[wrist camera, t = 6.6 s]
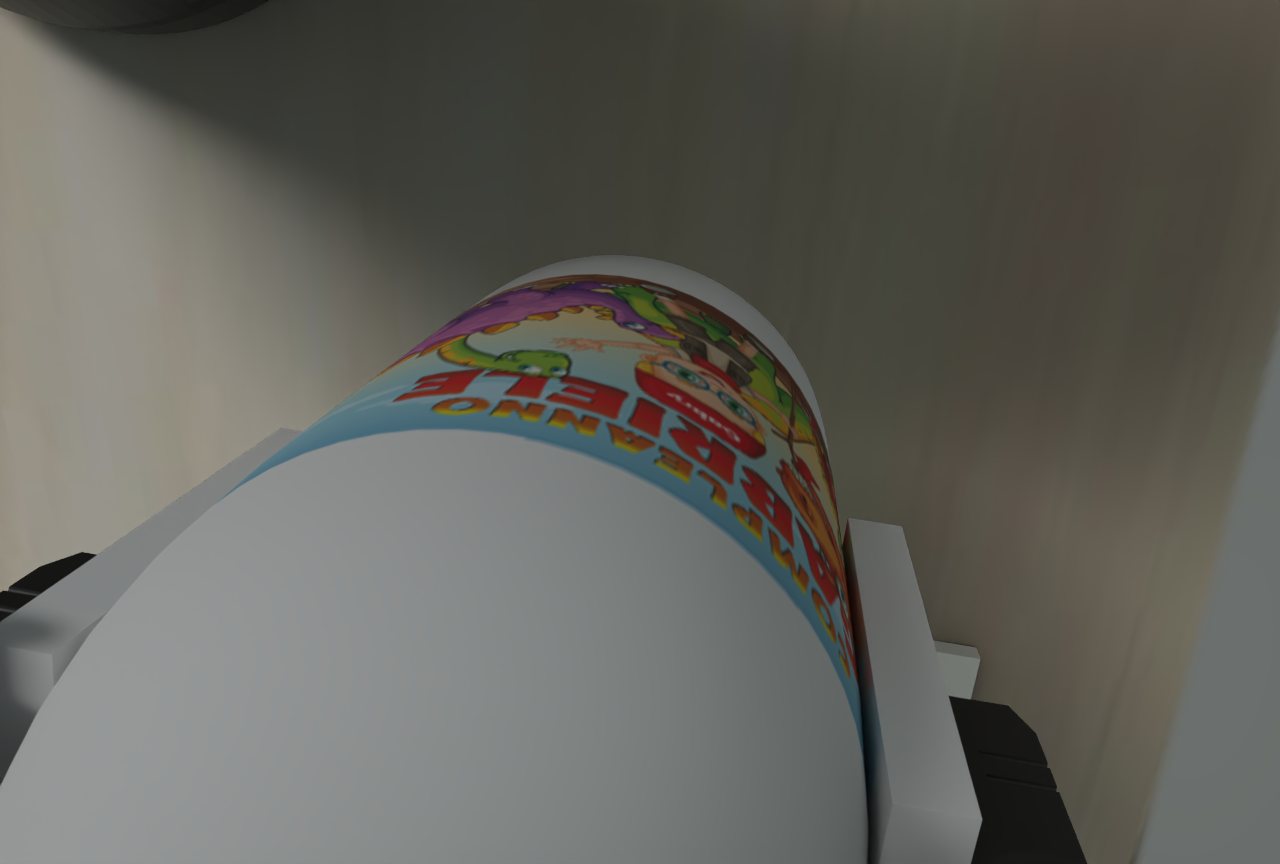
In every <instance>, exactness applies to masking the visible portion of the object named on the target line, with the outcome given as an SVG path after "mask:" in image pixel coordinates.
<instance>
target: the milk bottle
mask: <svg viewBox="0 0 1280 864" xmlns="http://www.w3.org/2000/svg"><path fill="white" fill-rule="evenodd" d="M0 864H868V813H867V795H866V778H865V760H864V742H863V725H862V714H861V704H860V693H859V685H858V676H857V667H856V659H855V650H854V641H853V633H852V624H851V616H850V607H849V598H848V590H847V581H846V572H845V565H844V557H843V550H842V543H841V535H840V528H839V520H838V513H837V506H836V498H835V491H834V484H833V477H832V470H831V463H830V456H829V450H828V444H827V439H826V435H825V430H824V425H823V421H822V417H821V413H820V410H819V407H818V404H817V400H816V397H815V394H814V391H813V389H812V387H811V384H810V382H809V380H808V377H807V375H806V373H805V371H804V369H803V368H802V366H801V364H800V362H799V360H798V359H797V357H796V355H795V354H794V352H793V351H792V349H791V348H790V347H789V345H788V344H787V342H786V341H785V339H784V338H783V337H782V336H781V335H780V333H779V332H778V331H777V330H776V329H775V328H774V326H773V325H772V324H771V323H770V322H769V321H768V320H767V319H766V318H765V317H764V316H763V315H762V314H761V313H760V312H759V311H758V310H756V309H755V308H754V307H753V306H752V305H750V304H749V303H748V302H747V301H745V300H744V299H743V298H741V297H740V296H739V295H738V294H736V293H734V292H733V291H731V290H730V289H728V288H727V287H725V286H723V285H722V284H720V283H718V282H716V281H714V280H712V279H710V278H708V277H706V276H704V275H702V274H700V273H698V272H695V271H693V270H690V269H687V268H685V267H682V266H679V265H676V264H672V263H668V262H665V261H661V260H656V259H651V258H645V257H639V256H626V255H596V256H588V257H580V258H574V259H569V260H565V261H561V262H556V263H553V264H550V265H547V266H544V267H541V268H538V269H535V270H533V271H531V272H529V273H527V274H525V275H522V276H520V277H518V278H516V279H514V280H513V281H511V282H509V283H507V284H506V285H504V286H502V287H501V288H499V289H497V290H495V291H494V292H492V293H490V294H489V295H487V296H485V297H484V298H483V299H481V300H480V301H478V302H477V303H476V304H474V305H473V306H471V307H470V308H469V309H467V310H466V311H464V312H463V313H462V314H460V315H459V316H457V317H456V318H455V319H453V320H452V321H451V322H449V323H448V324H447V325H445V326H444V327H442V328H441V329H440V330H438V331H437V332H436V333H434V334H433V335H432V336H430V337H429V338H427V339H426V340H425V341H423V342H422V343H421V344H419V345H418V346H417V347H415V348H414V349H413V350H411V351H410V352H408V353H407V354H406V355H404V356H403V357H402V358H400V359H399V360H398V361H396V362H395V363H394V364H392V365H391V366H389V367H388V368H387V369H385V370H384V371H383V372H381V373H380V374H379V375H377V376H376V377H375V378H373V379H372V380H371V381H369V382H368V383H367V384H365V385H364V386H363V387H361V388H360V389H359V390H357V391H356V392H355V393H353V394H352V395H351V396H350V397H348V398H347V399H346V400H344V401H343V402H342V403H340V404H339V405H338V406H337V407H335V408H334V409H333V410H331V411H330V412H329V413H327V414H326V415H325V416H323V417H322V418H321V419H320V420H318V421H317V422H316V423H314V424H313V425H312V426H310V427H309V428H308V429H306V430H305V431H304V432H303V433H301V434H300V435H299V436H297V437H296V438H295V439H293V440H292V441H291V442H290V443H288V444H287V445H286V446H284V447H283V448H282V449H280V450H279V451H278V452H276V453H275V454H274V455H273V456H271V457H270V458H269V459H267V460H266V461H265V462H263V463H262V464H261V465H260V466H259V467H258V468H256V469H255V470H254V471H253V472H252V473H251V474H249V475H248V476H247V477H246V478H245V479H244V480H243V481H241V482H240V483H239V484H238V485H237V486H236V487H234V488H233V489H232V490H231V491H230V492H229V493H227V494H226V495H225V496H224V497H223V498H222V499H221V500H219V501H218V502H217V503H216V504H215V505H214V506H212V507H211V508H210V509H209V510H208V511H207V512H205V513H204V514H203V515H202V516H201V517H200V518H198V519H197V520H196V521H195V522H194V523H193V524H192V525H190V526H189V527H188V528H187V529H186V530H185V531H183V532H182V533H181V534H180V535H179V536H178V537H177V538H176V539H175V540H174V541H173V542H172V543H171V544H170V545H168V546H167V547H166V548H165V549H164V550H163V551H162V552H161V553H160V554H159V555H158V556H157V557H156V558H155V559H154V560H153V561H152V563H151V564H150V565H149V566H148V567H147V568H146V569H145V570H144V572H143V573H142V574H141V575H140V576H139V577H138V578H137V579H136V581H135V582H134V583H133V584H132V585H131V586H130V587H129V589H128V590H127V591H126V592H125V593H124V594H123V595H122V596H121V598H120V599H119V600H118V601H117V602H116V603H115V604H114V605H113V607H112V608H111V609H110V610H109V611H108V613H107V614H106V615H105V616H104V617H103V619H102V620H101V621H100V622H99V623H98V625H97V626H96V627H95V628H94V629H93V631H92V632H91V633H90V634H89V635H88V637H87V638H86V640H85V641H84V643H83V644H82V646H81V647H80V649H79V650H78V652H77V653H76V655H75V656H74V658H73V659H72V661H71V662H70V664H69V665H68V667H67V668H66V670H65V671H64V673H63V674H62V676H61V677H60V679H59V680H58V682H57V683H56V685H55V686H54V688H53V689H52V691H51V692H50V694H49V695H48V697H47V699H46V700H45V702H44V703H43V705H42V706H41V708H40V709H39V711H38V713H37V714H36V716H35V718H34V720H33V722H32V724H31V726H30V728H29V730H28V732H27V734H26V736H25V738H24V740H23V742H22V744H21V746H20V748H19V750H18V752H17V753H16V755H15V757H14V759H13V761H12V763H11V765H10V767H9V769H8V771H7V773H6V776H5V778H4V780H3V782H2V784H1V786H0Z"/></svg>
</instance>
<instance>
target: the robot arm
mask: <svg viewBox="0 0 1280 864" xmlns="http://www.w3.org/2000/svg"><path fill="white" fill-rule="evenodd" d="M266 1H268V0H0V7H2V8H4V9H7V10H9V11H12V12H15V13H18V14H21V15H24V16H27V17H30V18H33V19H36V20H40V21H44V22H48V23H52V24H55V25H61V26H67V27H72V28H78V29H86V30H97V31H108V32H120V33H131V34H164V33H177V32H183V31H189V30H195V29H199V28H203V27H207V26H211V25H214V24H217V23H220V22H223V21H226V20H229V19H232V18H234V17H236V16H239V15H241V14H243V13H245V12H247V11H250V10H252V9H254V8H255V7H257V6H259V5H261V4H263V3H264V2H266ZM301 433H303V432H302V431H296V430H290V429H283V428H280V429H279V430H277V431H276V432H274V433H273V434H271V435H270V436H269V437H267V438H266V439H264V440H263V441H261V442H260V443H258V444H257V445H256V446H254V447H253V448H251V449H250V450H248V451H247V452H245V453H244V454H242V455H241V456H240V457H238V458H237V459H235V460H234V461H232V462H231V463H229V464H228V465H227V466H225V467H224V468H222V469H221V470H219V471H218V472H216V473H215V474H214V475H212V476H211V477H209V478H208V479H206V480H205V481H203V482H202V483H201V484H199V485H198V486H196V487H195V488H193V489H192V490H190V491H189V492H188V493H186V494H185V495H183V496H182V497H180V498H179V499H177V500H176V501H175V502H173V503H172V504H170V505H169V506H167V507H166V508H164V509H163V510H162V511H160V512H159V513H157V514H156V515H154V516H153V517H151V518H150V519H149V520H147V521H146V522H144V523H143V524H141V525H140V526H138V527H137V528H135V529H134V530H133V531H131V532H130V533H128V534H127V535H125V536H124V537H122V538H121V539H120V540H118V541H117V542H115V543H114V544H112V545H111V546H109V547H108V548H107V549H105V550H104V551H102V552H101V553H99V554H98V555H96V554H90V553H84V552H81V553H78V554H75V555H72V556H70V557H67V558H64V559H61V560H58V561H55V562H52V563H49V564H46V565H43V566H41V567H39V568H37V569H36V570H34V571H33V572H31V573H29V574H28V575H26V576H25V577H23V578H22V579H20V580H19V581H17V582H16V583H14V584H13V585H11V586H10V587H9V590H8V591H2V592H0V786H1V784H2V782H3V780H4V778H5V776H6V773H7V771H8V769H9V767H10V765H11V763H12V761H13V759H14V757H15V755H16V753H17V752H18V750H19V748H20V746H21V744H22V742H23V740H24V738H25V736H26V734H27V732H28V730H29V728H30V726H31V724H32V722H33V720H34V718H35V716H36V714H37V713H38V711H39V709H40V708H41V706H42V705H43V703H44V702H45V700H46V699H47V697H48V695H49V694H50V692H51V691H52V689H53V688H54V686H55V685H56V683H57V682H58V680H59V679H60V677H61V676H62V674H63V673H64V671H65V670H66V668H67V667H68V665H69V664H70V662H71V661H72V659H73V658H74V656H75V655H76V653H77V652H78V650H79V649H80V647H81V646H82V644H83V643H84V641H85V640H86V638H87V637H88V635H89V634H90V633H91V632H92V631H93V629H94V628H95V627H96V626H97V625H98V623H99V622H100V621H101V620H102V619H103V617H104V616H105V615H106V614H107V613H108V611H109V610H110V609H111V608H112V607H113V605H114V604H115V603H116V602H117V601H118V600H119V599H120V598H121V596H122V595H123V594H124V593H125V592H126V591H127V590H128V589H129V587H130V586H131V585H132V584H133V583H134V582H135V581H136V579H137V578H138V577H139V576H140V575H141V574H142V573H143V572H144V570H145V569H146V568H147V567H148V566H149V565H150V564H151V563H152V561H153V560H154V559H155V558H156V557H157V556H158V555H159V554H160V553H161V552H162V551H163V550H164V549H165V548H166V547H167V546H168V545H170V544H171V543H172V542H173V541H174V540H175V539H176V538H177V537H178V536H179V535H180V534H181V533H182V532H183V531H185V530H186V529H187V528H188V527H189V526H190V525H192V524H193V523H194V522H195V521H196V520H197V519H198V518H200V517H201V516H202V515H203V514H204V513H205V512H207V511H208V510H209V509H210V508H211V507H212V506H214V505H215V504H216V503H217V502H218V501H219V500H221V499H222V498H223V497H224V496H225V495H226V494H227V493H229V492H230V491H231V490H232V489H233V488H234V487H236V486H237V485H238V484H239V483H240V482H241V481H243V480H244V479H245V478H246V477H247V476H248V475H249V474H251V473H252V472H253V471H254V470H255V469H256V468H258V467H259V466H260V465H261V464H262V463H263V462H265V461H266V460H267V459H269V458H270V457H271V456H273V455H274V454H275V453H276V452H278V451H279V450H280V449H282V448H283V447H284V446H286V445H287V444H288V443H290V442H291V441H292V440H293V439H295V438H296V437H297V436H299V435H300V434H301ZM842 550H843V557H844V565H845V572H846V581H847V590H848V598H849V607H850V616H851V624H852V633H853V641H854V650H855V659H856V667H857V676H858V685H859V693H860V704H861V714H862V725H863V742H864V760H865V778H866V795H867V813H868V864H1087V862H1086V859H1085V857H1084V854H1083V852H1082V849H1081V847H1080V844H1079V841H1078V839H1077V836H1076V834H1075V831H1074V829H1073V826H1072V824H1071V821H1070V819H1069V816H1068V813H1067V811H1066V808H1065V806H1064V803H1063V801H1062V798H1061V796H1060V793H1059V792H1056V788H1057V786H1056V783H1055V780H1054V778H1053V775H1052V773H1051V770H1050V768H1047V760H1046V758H1045V755H1044V752H1043V750H1042V747H1041V745H1040V742H1039V740H1038V737H1037V735H1036V733H1035V732H1034V731H1033V730H1032V729H1031V728H1030V727H1029V726H1028V725H1027V724H1026V723H1025V722H1024V721H1023V720H1022V719H1021V718H1020V717H1019V716H1018V715H1017V714H1016V713H1015V712H1014V711H1013V710H1012V709H1011V708H1010V707H1009V706H1006V705H1000V704H995V703H989V702H983V701H977V700H971V699H965V698H959V697H953V696H948V693H947V689H946V685H945V682H944V678H943V674H942V671H941V667H940V663H939V660H938V656H937V652H936V649H935V645H934V642H933V638H932V634H931V631H930V627H929V623H928V620H927V616H926V612H925V609H924V605H923V601H922V598H921V594H920V591H919V587H918V583H917V580H916V576H915V572H914V569H913V565H912V561H911V558H910V554H909V550H908V547H907V543H906V540H905V536H904V532H903V529H902V526H897V525H891V524H884V523H878V522H872V521H865V520H859V519H853V518H848V521H847V526H846V531H845V536H844V541H843V546H842Z"/></svg>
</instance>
